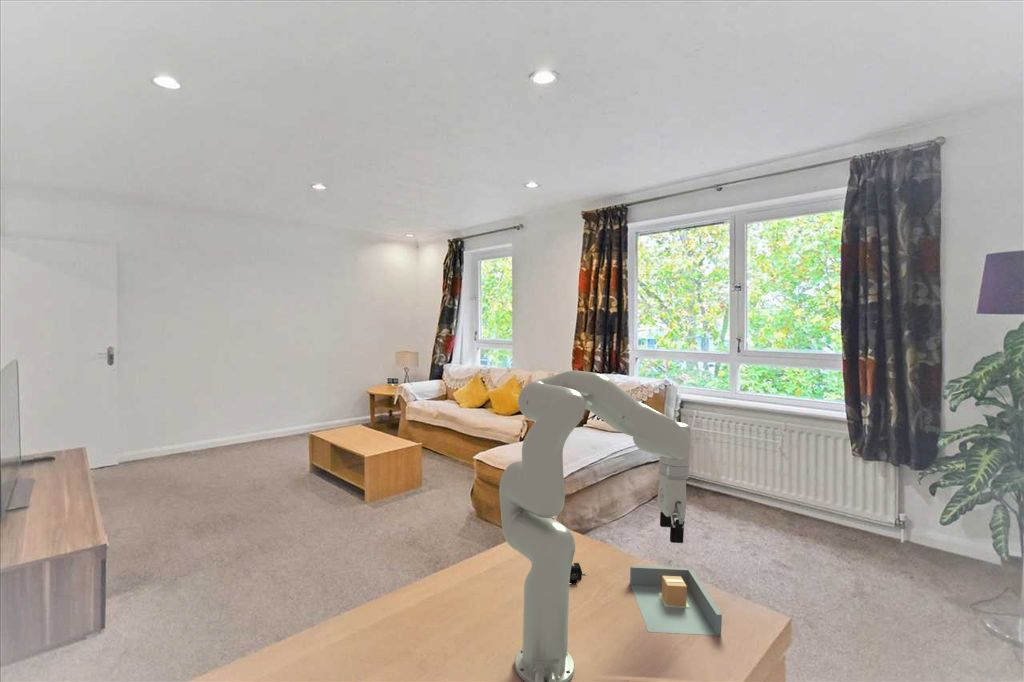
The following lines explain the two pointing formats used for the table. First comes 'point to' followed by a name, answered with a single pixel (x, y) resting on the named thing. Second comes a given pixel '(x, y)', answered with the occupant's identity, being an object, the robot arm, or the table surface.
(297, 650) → the table surface
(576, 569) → the black hollow angular block
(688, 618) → the grey blue tray
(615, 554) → the table surface
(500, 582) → the table surface
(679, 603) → the cube
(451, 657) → the table surface
